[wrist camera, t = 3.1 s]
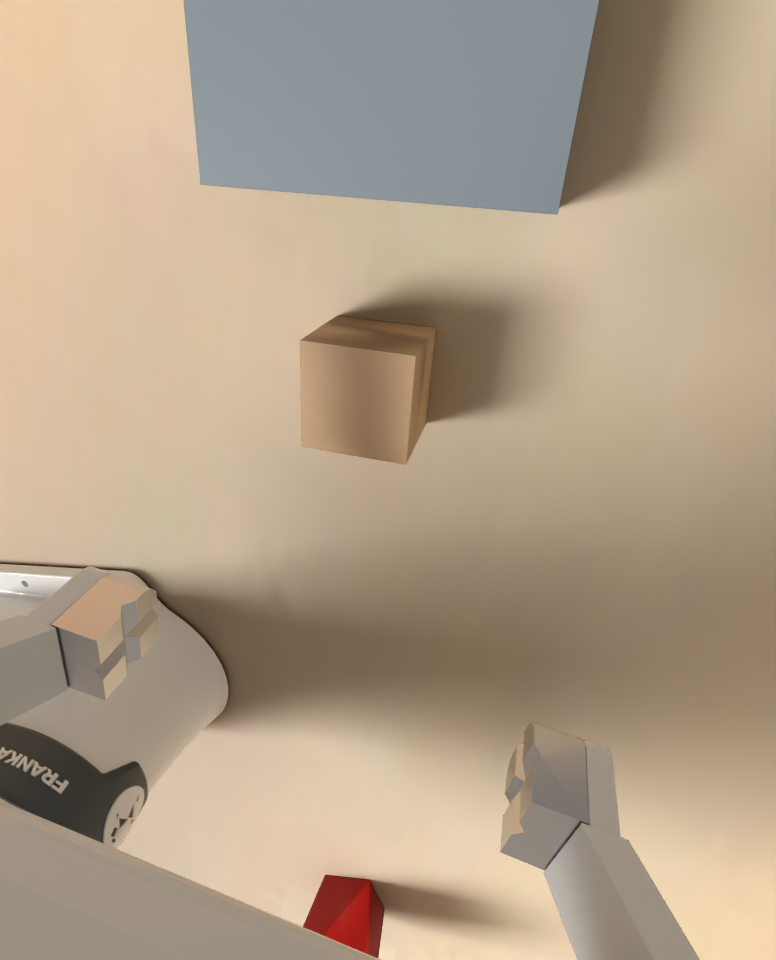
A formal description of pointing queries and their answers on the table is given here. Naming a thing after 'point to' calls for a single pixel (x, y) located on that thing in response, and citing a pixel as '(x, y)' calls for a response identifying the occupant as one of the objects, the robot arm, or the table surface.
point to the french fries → (348, 913)
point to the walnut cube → (365, 387)
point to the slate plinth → (390, 97)
